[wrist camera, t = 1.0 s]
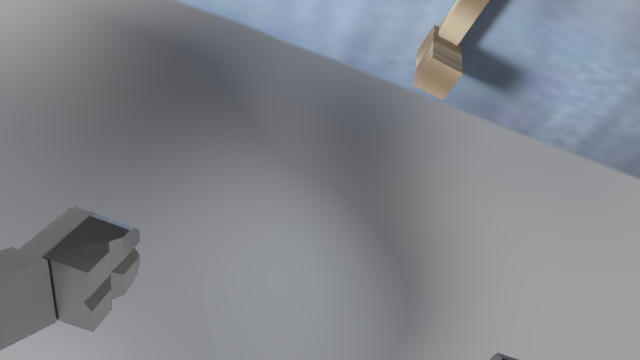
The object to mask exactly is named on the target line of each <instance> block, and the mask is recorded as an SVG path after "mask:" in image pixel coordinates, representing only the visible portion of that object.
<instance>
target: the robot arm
mask: <svg viewBox="0 0 640 360" xmlns="http://www.w3.org/2000/svg"><path fill="white" fill-rule="evenodd" d="M139 242H140V233H139V230H138V229H136V228H135V227H132V226H129V225H127V224H124V223H122V222H119V221H116V220H113V219H111V218H108V217H106V216H103V215H100V214H97V213H94V212H91V211H88V210H86V209H83V208H80V207H78V206H75V207H72V208H69V209H67V210H66V211H65V212H64V213H62V214H61V215H60V216H59V217H58V218H56V219H55V220H54V221H53V222H51V223H50V224H49V225H48V226H47V227H45V228H44V229H43V230H42V231H40V232H39V233H38V234H37V235H36V236H34V237H33V238H32V239H31V240H29V241H28V242H27V243H26V244H24V245H23V246H22V247H21V248H20V249H16V248H13V247H12V248H8V249H5V250H2V251H0V350H2V349H4V348H6V347H8V346H10V345H12V344H14V343H16V342H18V341H20V340H22V339H24V338H26V337H28V336H29V335H32V334H34V333H36V332H38V331H40V330H42V329H43V328H46V327H48V326H50V325H51V324H54V323H55V322H56V321H57V320H59V321H63V322H65V323H68V324H71V325H74V326H77V327H80V328H83V329H86V330H89V331H92V332H93V331H94V330H95V329H96V328H97V327H98V326H99V324H100V323H101V322H102V321H103V320H104V318H105V317H106V316H107V315H108V313H109V312H110V311H111V310H112V299H114V298H117V297H119V296H122V295H124V294H125V293H126V291H127V290H128V289H129V288H130V286H131V285H132V283H133V281H134V279H135V277H136V275H137V273H138V269H139V265H140V255H139V254H138V252H137V251H136V249H135V248H134V247H135V246H136V245H137V244H138V243H139ZM490 360H518V359H515V358H512V357H509V356H506V355H503V354H500V353H497V354H495V355H494V356H493V357H492V358H491V359H490Z"/></svg>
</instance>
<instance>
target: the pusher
mask: <svg viewBox="0 0 640 360" xmlns="http://www.w3.org/2000/svg"><path fill="white" fill-rule="evenodd" d="M488 2H489V0H457V1H456V2H455V4H454V5H453V7H452V8H451V10H450V11H449V13H448V14H447V16H446V17H445V19H444V21H443V22H442V24H441V25H440V27H437V26H435V25H434V27H433V28H432V30H431V31H430V33H429V34H428V36H427V37H426V39H425V40H424V42H423V44H422V45H421V47H420V48H419V50H418V53H417V62H416V71H415V80H414V85H415V86H417V87H419V88H421V89H423V90H425V91H427V92H428V93H430V94H432V95H434V96H436V97H438V98H440V99H442V100H444V98H445V97H446V96H447V94H448V93H449V92H450V90H451V89H452V88H453V86H454V85H455V84H456V82H457V81H458V80H459V78H460V77H461V76H462V74H463V65H462V44H461V40H462V38H463V37H464V36H465V34H466V33H467V31H468V30H469V29H470V27H471V26H472V24H473V23H474V21H475V20H476V19H477V17H478V16H479V14H480V13H481V12H482V10H483V9H484V7H485V6H486V4H487V3H488Z"/></svg>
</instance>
